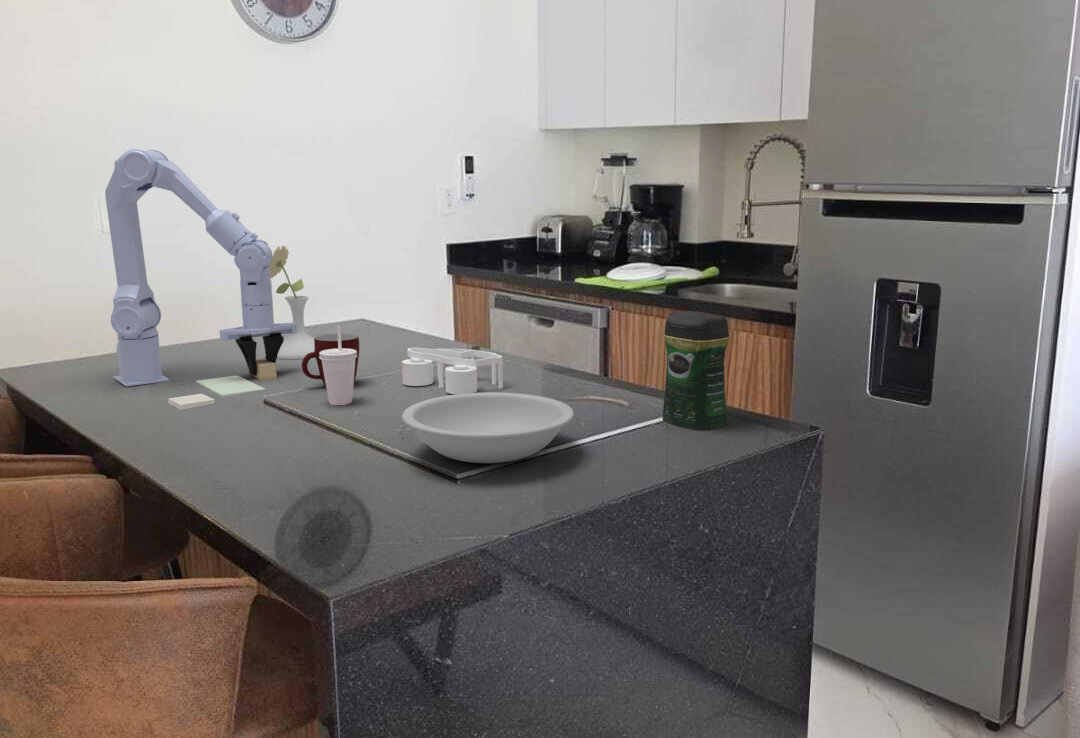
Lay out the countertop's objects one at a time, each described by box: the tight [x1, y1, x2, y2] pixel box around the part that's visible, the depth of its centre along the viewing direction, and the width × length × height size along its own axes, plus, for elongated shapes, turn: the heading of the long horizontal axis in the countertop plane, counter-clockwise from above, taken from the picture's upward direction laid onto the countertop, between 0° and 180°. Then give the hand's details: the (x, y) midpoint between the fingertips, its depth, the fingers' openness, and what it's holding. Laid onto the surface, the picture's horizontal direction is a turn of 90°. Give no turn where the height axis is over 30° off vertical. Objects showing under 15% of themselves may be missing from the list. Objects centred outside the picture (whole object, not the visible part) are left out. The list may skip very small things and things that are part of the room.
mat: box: [195, 374, 266, 398], centre depth 176 cm, size 15×8×1 cm, turn 37°
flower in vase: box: [268, 244, 315, 361], centre depth 199 cm, size 13×11×25 cm
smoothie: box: [319, 325, 357, 406], centre depth 160 cm, size 6×6×14 cm
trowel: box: [246, 357, 278, 382], centre depth 180 cm, size 15×5×4 cm, turn 37°
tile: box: [167, 393, 216, 411], centre depth 164 cm, size 1×6×6 cm
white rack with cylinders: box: [401, 347, 504, 395], centre depth 172 cm, size 20×11×7 cm, turn 51°
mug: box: [301, 333, 360, 387], centre depth 173 cm, size 11×8×10 cm
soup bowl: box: [401, 391, 575, 464], centre depth 132 cm, size 24×24×7 cm
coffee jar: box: [662, 310, 730, 432], centre depth 144 cm, size 10×8×19 cm
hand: (261, 373), depth 183 cm, fingers closed on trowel, 3 cm apart
